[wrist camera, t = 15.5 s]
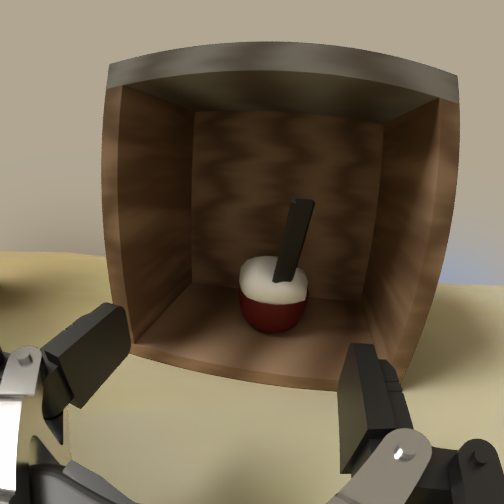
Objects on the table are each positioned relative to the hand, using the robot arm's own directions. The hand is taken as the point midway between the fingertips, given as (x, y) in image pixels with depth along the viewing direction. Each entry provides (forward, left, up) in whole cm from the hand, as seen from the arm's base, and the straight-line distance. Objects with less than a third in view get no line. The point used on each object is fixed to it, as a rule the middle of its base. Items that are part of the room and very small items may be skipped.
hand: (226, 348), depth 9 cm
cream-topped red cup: (0, +15, -9) cm, 17 cm away
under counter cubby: (0, +16, -10) cm, 18 cm away
